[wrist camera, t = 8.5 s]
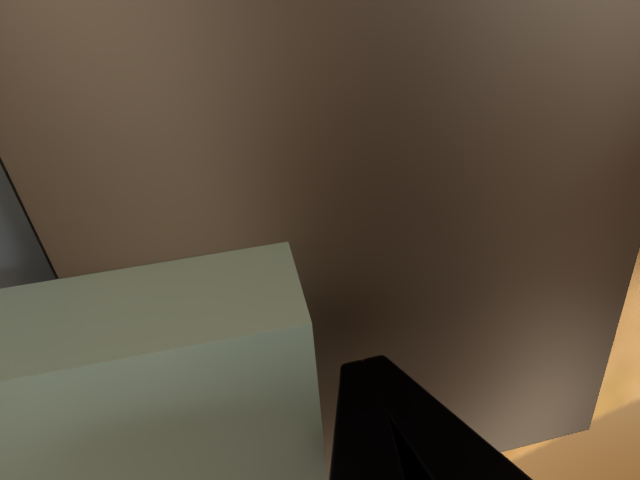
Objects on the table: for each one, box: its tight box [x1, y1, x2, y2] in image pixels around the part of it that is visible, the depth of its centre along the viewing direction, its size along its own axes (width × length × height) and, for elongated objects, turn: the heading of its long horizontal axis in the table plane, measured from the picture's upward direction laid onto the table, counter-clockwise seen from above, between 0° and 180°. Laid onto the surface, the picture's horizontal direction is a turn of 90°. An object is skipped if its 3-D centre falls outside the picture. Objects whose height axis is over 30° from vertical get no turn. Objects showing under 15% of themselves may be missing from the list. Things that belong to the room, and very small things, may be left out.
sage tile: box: [0, 242, 328, 480], centre depth 8 cm, size 5×5×2 cm
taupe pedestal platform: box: [0, 0, 640, 480], centre depth 9 cm, size 10×18×4 cm, turn 6°
